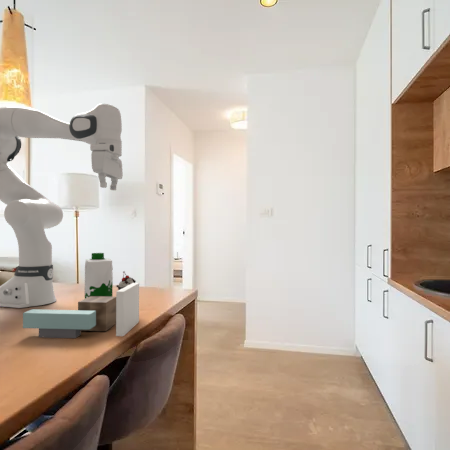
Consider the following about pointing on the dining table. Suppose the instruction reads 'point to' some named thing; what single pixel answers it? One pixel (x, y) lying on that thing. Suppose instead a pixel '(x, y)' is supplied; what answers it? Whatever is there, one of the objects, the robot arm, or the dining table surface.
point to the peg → (59, 319)
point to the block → (100, 311)
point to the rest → (59, 333)
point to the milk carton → (98, 276)
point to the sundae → (125, 282)
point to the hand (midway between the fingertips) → (108, 188)
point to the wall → (127, 308)
